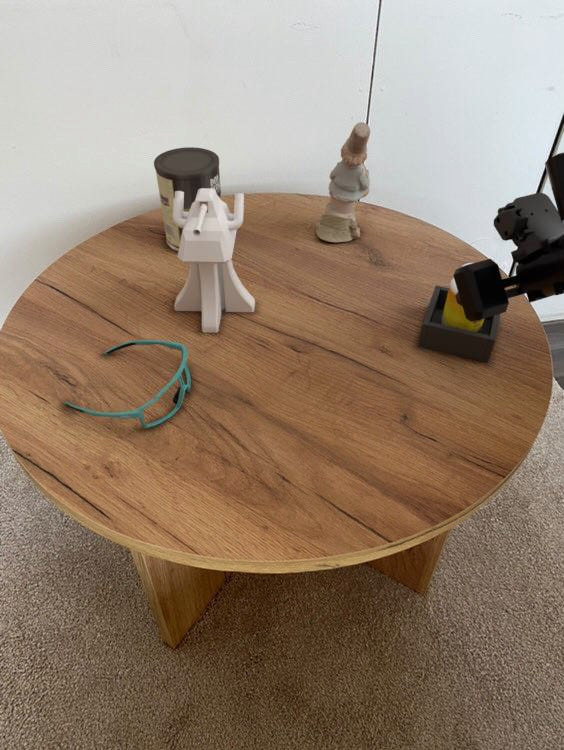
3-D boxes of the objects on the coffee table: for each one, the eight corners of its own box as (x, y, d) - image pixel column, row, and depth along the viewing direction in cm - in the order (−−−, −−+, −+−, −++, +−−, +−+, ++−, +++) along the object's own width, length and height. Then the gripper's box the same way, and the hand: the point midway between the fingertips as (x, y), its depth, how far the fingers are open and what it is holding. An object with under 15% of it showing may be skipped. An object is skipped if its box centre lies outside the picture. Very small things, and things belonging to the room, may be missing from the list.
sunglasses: (166, 443, 69) (156, 414, 65) (60, 423, 73) (45, 395, 70) (211, 365, 78) (204, 336, 75) (115, 352, 82) (104, 324, 79)
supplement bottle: (470, 349, 80) (488, 288, 73) (432, 334, 82) (447, 273, 75) (485, 328, 83) (504, 267, 76) (448, 314, 86) (463, 254, 78)
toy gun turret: (167, 336, 83) (146, 223, 70) (182, 282, 92) (166, 173, 80) (251, 338, 82) (245, 224, 70) (257, 283, 92) (253, 175, 79)
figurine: (357, 249, 99) (370, 131, 85) (310, 241, 101) (314, 124, 87) (368, 224, 105) (381, 109, 91) (323, 216, 107) (329, 103, 93)
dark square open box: (496, 321, 85) (503, 299, 82) (488, 362, 79) (495, 340, 76) (430, 306, 88) (435, 284, 85) (417, 345, 81) (422, 323, 79)
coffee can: (235, 231, 104) (230, 153, 94) (206, 260, 97) (197, 179, 87) (186, 218, 107) (176, 142, 97) (154, 245, 100) (140, 166, 90)
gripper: (626, 167, 62) (526, 215, 77) (484, 201, 57) (407, 245, 72) (655, 267, 62) (550, 295, 77) (516, 310, 57) (432, 332, 72)
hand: (486, 290), depth 75 cm, fingers open, 9 cm apart
